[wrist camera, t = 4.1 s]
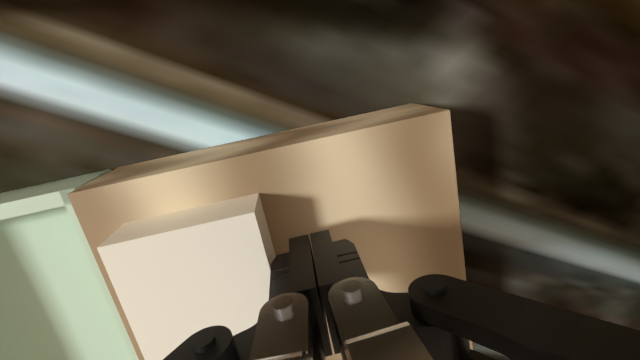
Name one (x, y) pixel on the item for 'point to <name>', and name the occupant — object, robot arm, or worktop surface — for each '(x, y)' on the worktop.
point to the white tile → (191, 271)
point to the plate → (311, 192)
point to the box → (53, 281)
